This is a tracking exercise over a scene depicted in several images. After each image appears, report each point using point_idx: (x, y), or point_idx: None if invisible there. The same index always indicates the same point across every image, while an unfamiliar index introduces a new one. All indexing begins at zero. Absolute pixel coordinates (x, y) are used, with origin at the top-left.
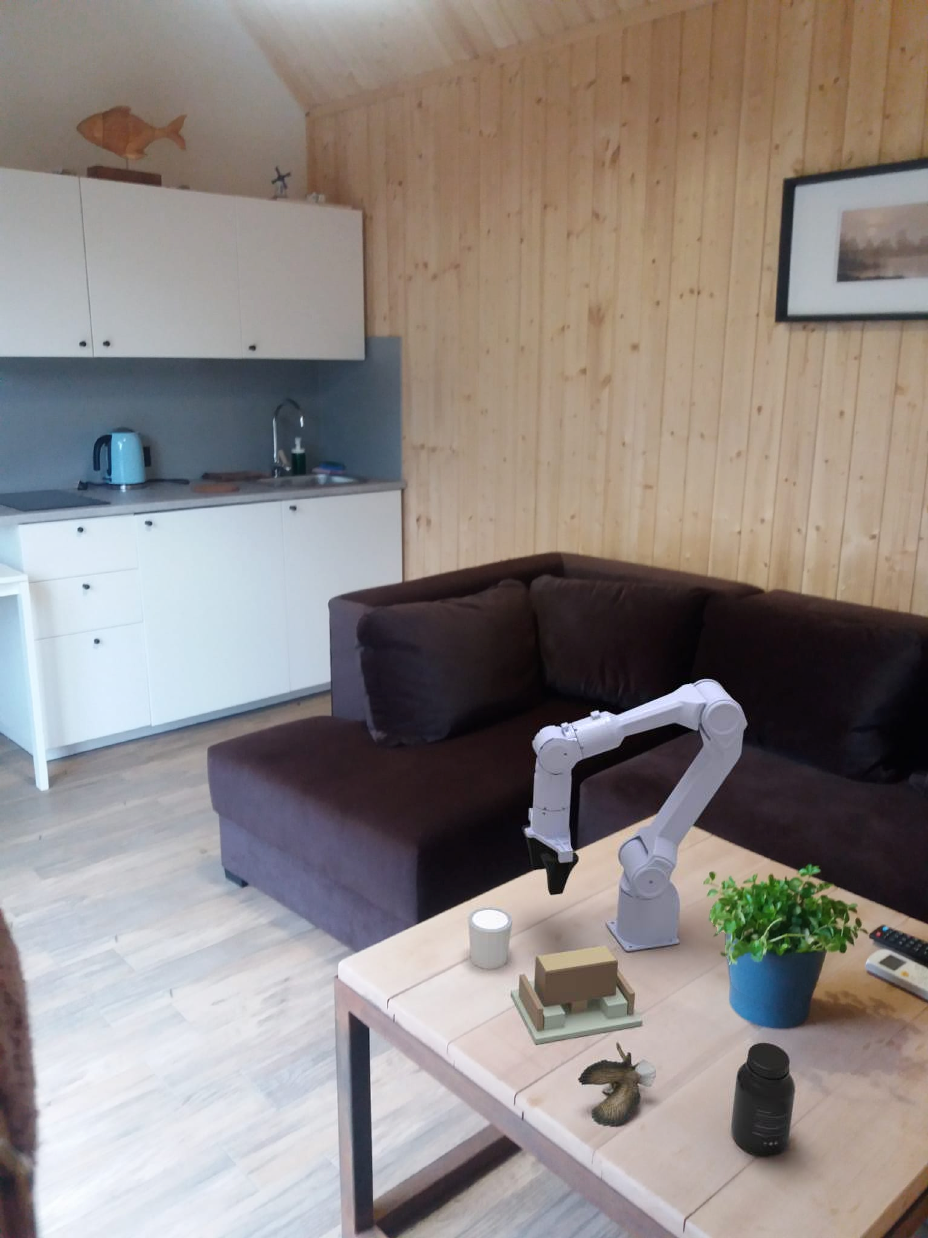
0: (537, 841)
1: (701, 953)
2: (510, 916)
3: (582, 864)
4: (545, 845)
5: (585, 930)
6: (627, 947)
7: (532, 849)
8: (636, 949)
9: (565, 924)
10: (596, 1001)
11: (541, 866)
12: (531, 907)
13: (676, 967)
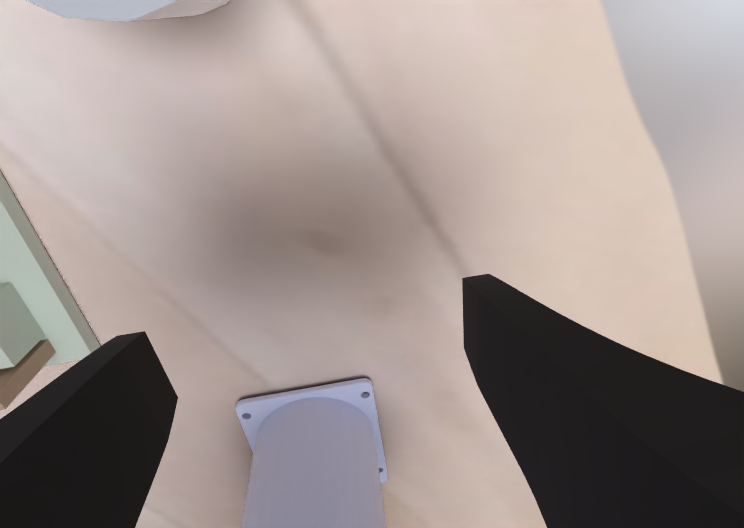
0: (614, 518)
1: (241, 521)
2: (126, 16)
3: (671, 364)
4: (562, 512)
5: (351, 323)
6: (244, 410)
7: (559, 387)
8: (242, 424)
9: (390, 275)
10: None
11: (470, 337)
12: (509, 186)
13: (181, 479)
